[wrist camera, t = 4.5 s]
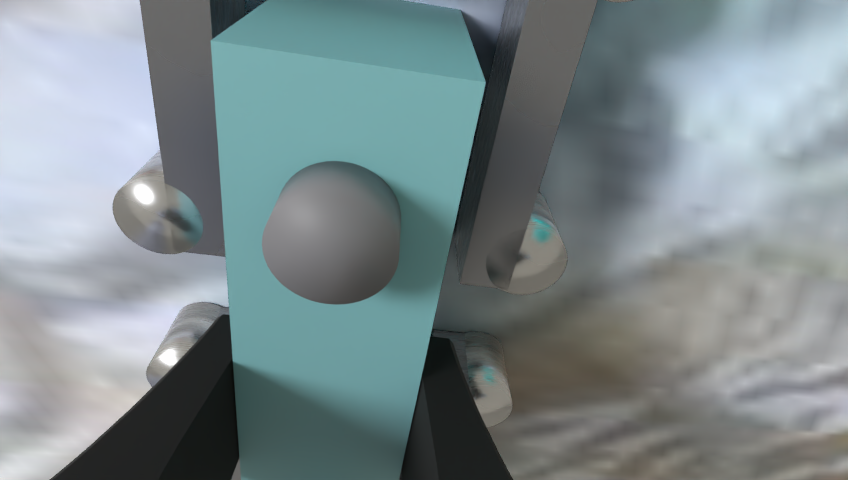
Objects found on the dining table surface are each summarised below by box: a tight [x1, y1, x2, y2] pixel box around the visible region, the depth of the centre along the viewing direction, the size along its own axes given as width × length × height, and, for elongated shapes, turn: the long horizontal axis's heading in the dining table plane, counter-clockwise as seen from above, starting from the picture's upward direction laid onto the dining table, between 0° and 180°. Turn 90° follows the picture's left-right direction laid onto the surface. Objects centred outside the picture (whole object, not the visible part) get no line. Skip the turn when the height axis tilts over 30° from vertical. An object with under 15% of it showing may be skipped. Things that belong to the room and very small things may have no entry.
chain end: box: [146, 302, 513, 480], centre depth 15 cm, size 7×9×2 cm
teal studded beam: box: [211, 0, 486, 480], centre depth 11 cm, size 12×3×5 cm, turn 171°
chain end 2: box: [113, 0, 633, 295], centre depth 9 cm, size 7×9×2 cm
